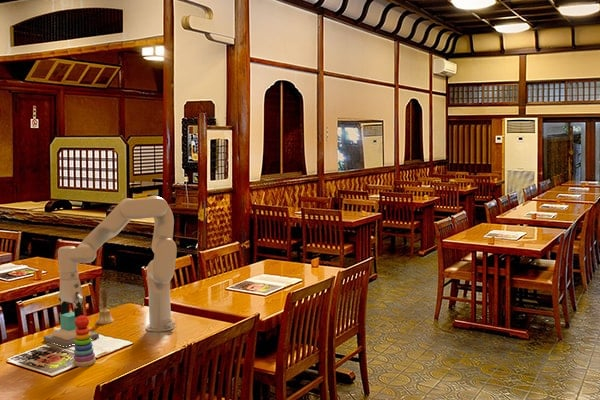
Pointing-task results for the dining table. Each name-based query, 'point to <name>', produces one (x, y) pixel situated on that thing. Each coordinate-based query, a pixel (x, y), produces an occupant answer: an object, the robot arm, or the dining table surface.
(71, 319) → the teal cube
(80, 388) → the dining table surface
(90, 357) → the stacking toy
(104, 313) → the hand bell
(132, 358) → the dining table surface
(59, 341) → the stack base
